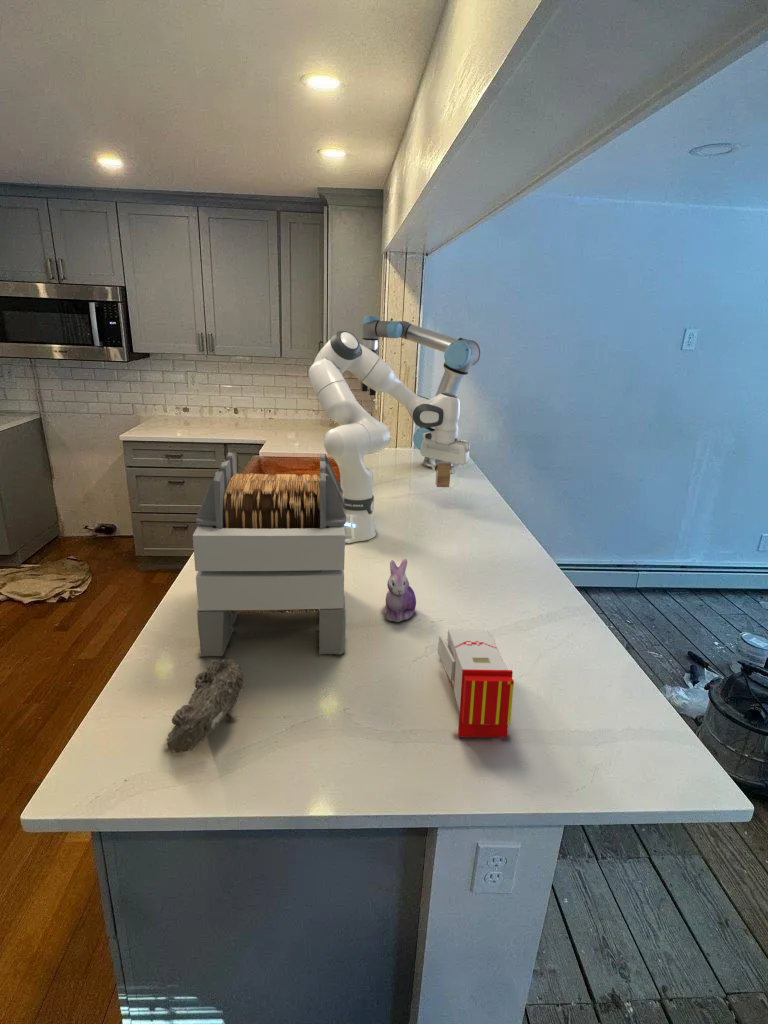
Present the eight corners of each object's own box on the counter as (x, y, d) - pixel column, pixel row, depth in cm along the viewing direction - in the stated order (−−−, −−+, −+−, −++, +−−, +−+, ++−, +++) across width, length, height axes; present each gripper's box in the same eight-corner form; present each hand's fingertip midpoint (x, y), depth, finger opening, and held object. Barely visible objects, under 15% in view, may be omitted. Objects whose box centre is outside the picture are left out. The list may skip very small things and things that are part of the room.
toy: (488, 613, 130) (523, 677, 101) (484, 667, 133) (517, 744, 104) (435, 612, 130) (455, 676, 101) (432, 666, 133) (451, 743, 103)
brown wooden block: (449, 487, 220) (451, 463, 217) (436, 487, 220) (438, 462, 216) (447, 483, 224) (449, 460, 221) (435, 483, 224) (437, 459, 221)
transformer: (222, 587, 157) (213, 443, 143) (340, 586, 160) (343, 445, 147) (197, 659, 125) (183, 482, 111) (345, 655, 129) (349, 484, 115)
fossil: (192, 660, 117) (244, 628, 112) (224, 691, 120) (276, 661, 115) (142, 746, 98) (202, 712, 93) (182, 779, 101) (242, 748, 96)
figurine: (392, 627, 141) (395, 572, 136) (374, 608, 149) (376, 556, 144) (425, 619, 145) (429, 566, 140) (405, 601, 154) (408, 550, 149)
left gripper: (474, 439, 212) (470, 475, 217) (428, 431, 223) (425, 465, 228) (465, 442, 207) (462, 478, 212) (419, 433, 219) (417, 468, 223)
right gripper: (385, 351, 267) (383, 396, 274) (370, 347, 289) (368, 389, 296) (369, 351, 264) (368, 397, 271) (355, 347, 286) (354, 389, 294)
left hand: (443, 471), depth 220 cm, fingers closed on brown wooden block, 7 cm apart
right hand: (368, 393), depth 284 cm, fingers open, 13 cm apart
